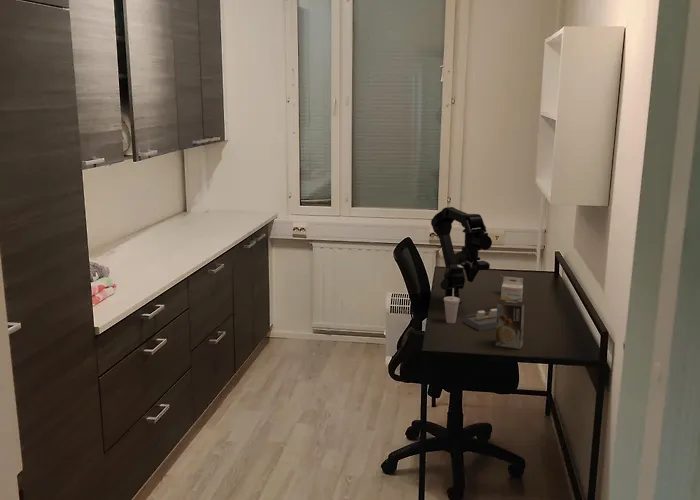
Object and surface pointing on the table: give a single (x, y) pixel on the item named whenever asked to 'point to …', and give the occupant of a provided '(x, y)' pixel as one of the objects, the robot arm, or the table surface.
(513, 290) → the ink cartridge box
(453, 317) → the smoothie
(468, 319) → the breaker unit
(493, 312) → the breaker paddles
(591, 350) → the table surface
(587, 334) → the table surface
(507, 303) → the coffee box
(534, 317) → the table surface
